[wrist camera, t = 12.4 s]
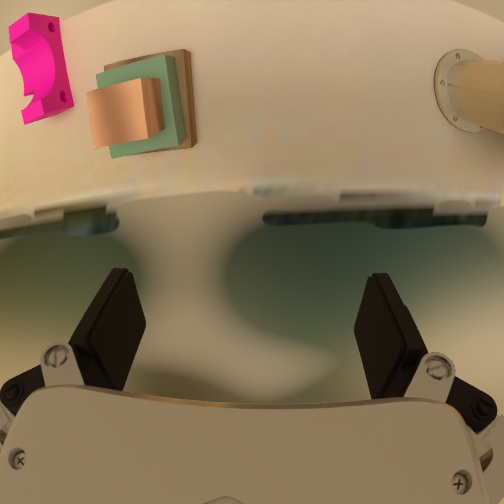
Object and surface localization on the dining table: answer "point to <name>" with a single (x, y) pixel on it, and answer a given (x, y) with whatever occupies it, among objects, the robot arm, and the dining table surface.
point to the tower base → (184, 87)
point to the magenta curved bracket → (41, 65)
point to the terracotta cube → (126, 111)
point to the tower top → (170, 101)
